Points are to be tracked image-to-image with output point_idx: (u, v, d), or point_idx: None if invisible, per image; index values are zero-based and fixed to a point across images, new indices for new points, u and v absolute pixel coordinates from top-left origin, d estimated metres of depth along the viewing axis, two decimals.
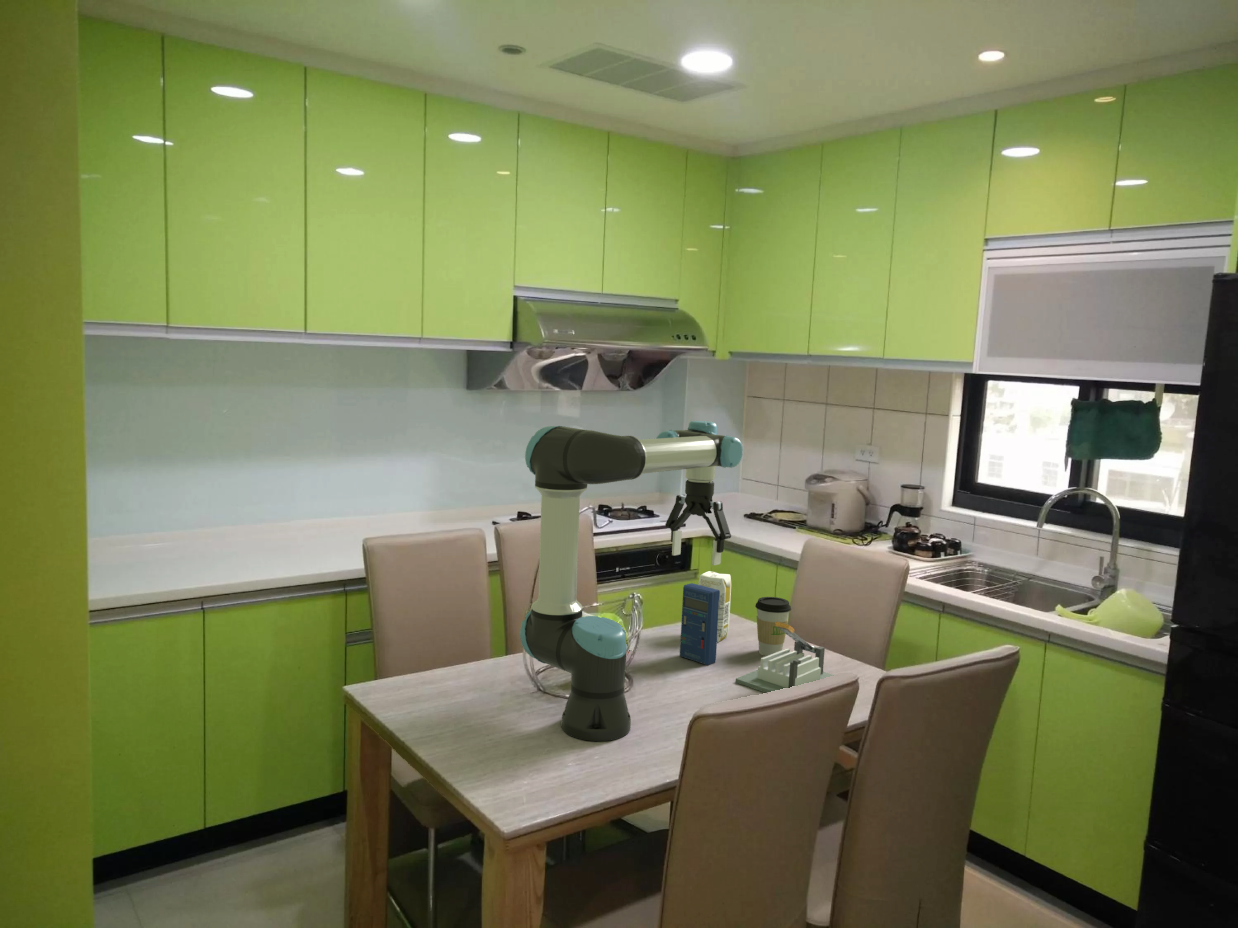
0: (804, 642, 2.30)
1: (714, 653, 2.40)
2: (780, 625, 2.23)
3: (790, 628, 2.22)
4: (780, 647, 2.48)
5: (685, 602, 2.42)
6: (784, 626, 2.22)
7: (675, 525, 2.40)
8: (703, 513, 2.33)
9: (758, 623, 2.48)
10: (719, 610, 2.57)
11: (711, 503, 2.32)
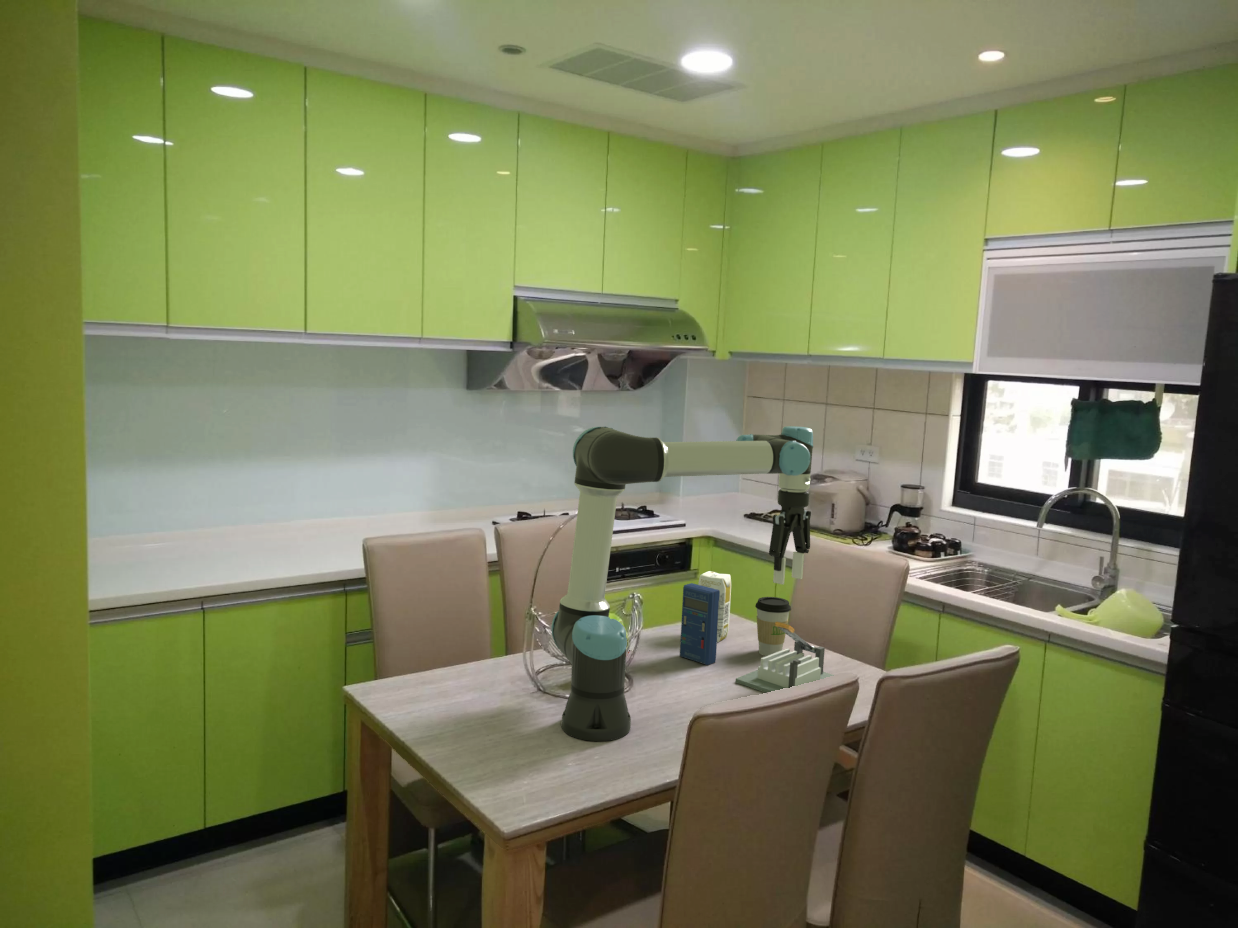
0: (804, 642, 2.30)
1: (714, 653, 2.40)
2: (780, 625, 2.23)
3: (790, 628, 2.22)
4: (780, 647, 2.48)
5: (685, 602, 2.42)
6: (784, 626, 2.22)
7: None
8: None
9: (758, 623, 2.48)
10: (719, 610, 2.57)
11: None
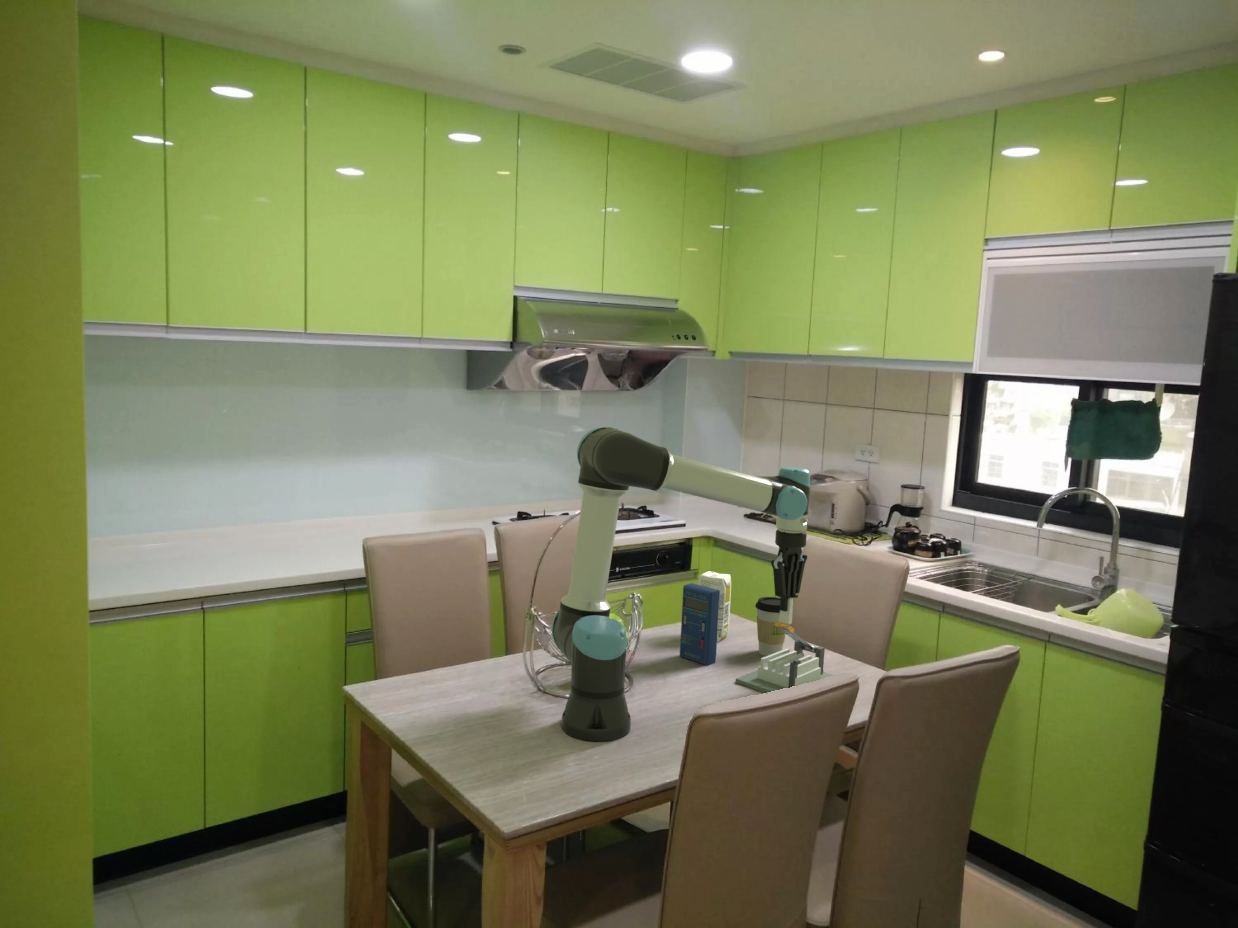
0: (804, 642, 2.30)
1: (714, 653, 2.40)
2: (780, 625, 2.23)
3: (790, 628, 2.22)
4: (780, 647, 2.48)
5: (685, 602, 2.42)
6: (784, 626, 2.22)
7: None
8: None
9: (758, 623, 2.48)
10: (719, 610, 2.57)
11: None
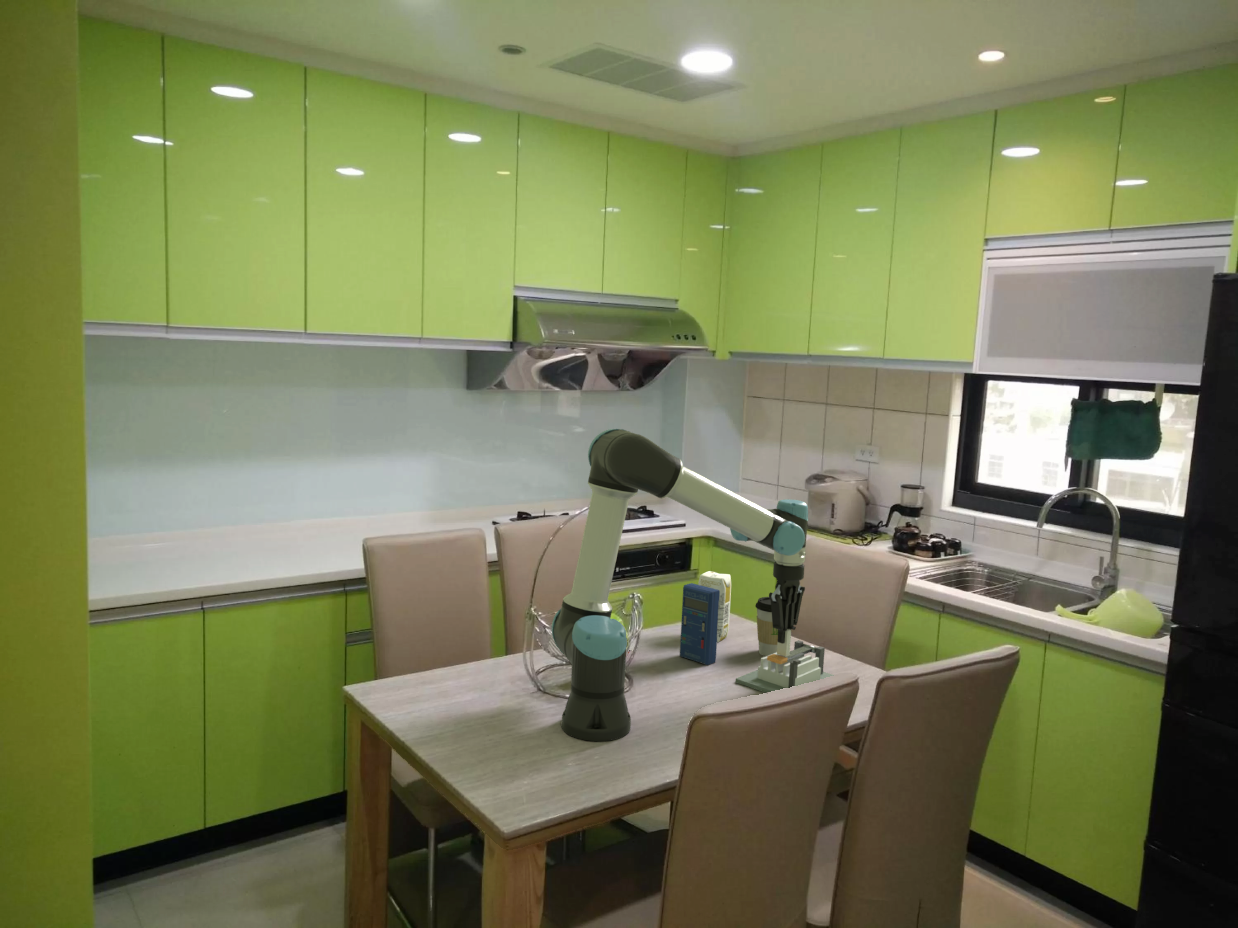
0: (802, 653, 2.29)
1: (714, 653, 2.40)
2: (772, 660, 2.22)
3: (782, 661, 2.21)
4: None
5: (685, 602, 2.42)
6: (776, 661, 2.22)
7: None
8: None
9: (758, 623, 2.48)
10: (719, 610, 2.57)
11: None
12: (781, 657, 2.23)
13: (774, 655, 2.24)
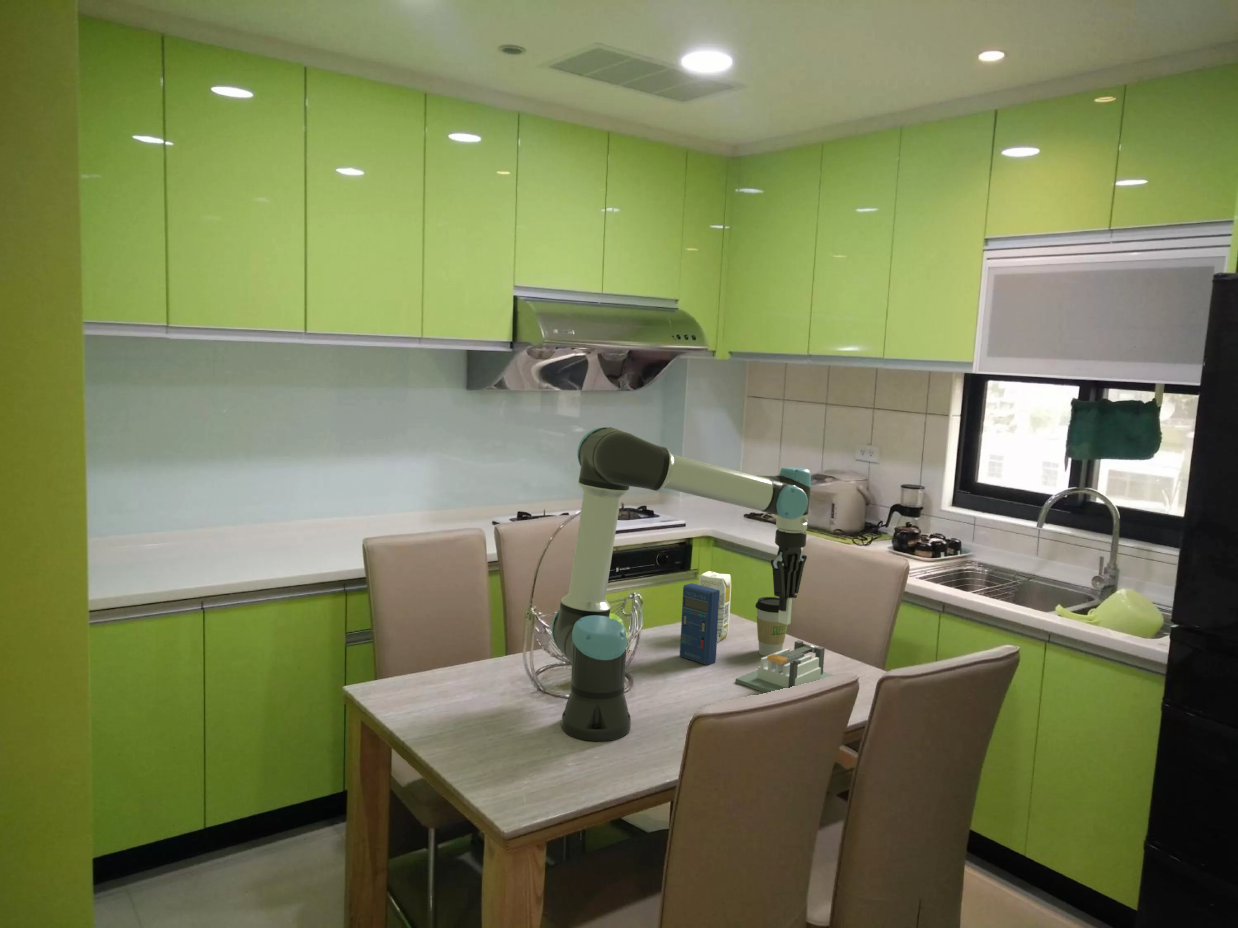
0: (802, 653, 2.29)
1: (714, 653, 2.40)
2: (772, 660, 2.22)
3: (782, 661, 2.21)
4: (780, 647, 2.48)
5: (685, 602, 2.42)
6: (776, 661, 2.22)
7: None
8: None
9: (758, 623, 2.48)
10: (719, 610, 2.57)
11: None
12: (781, 657, 2.23)
13: (774, 655, 2.24)
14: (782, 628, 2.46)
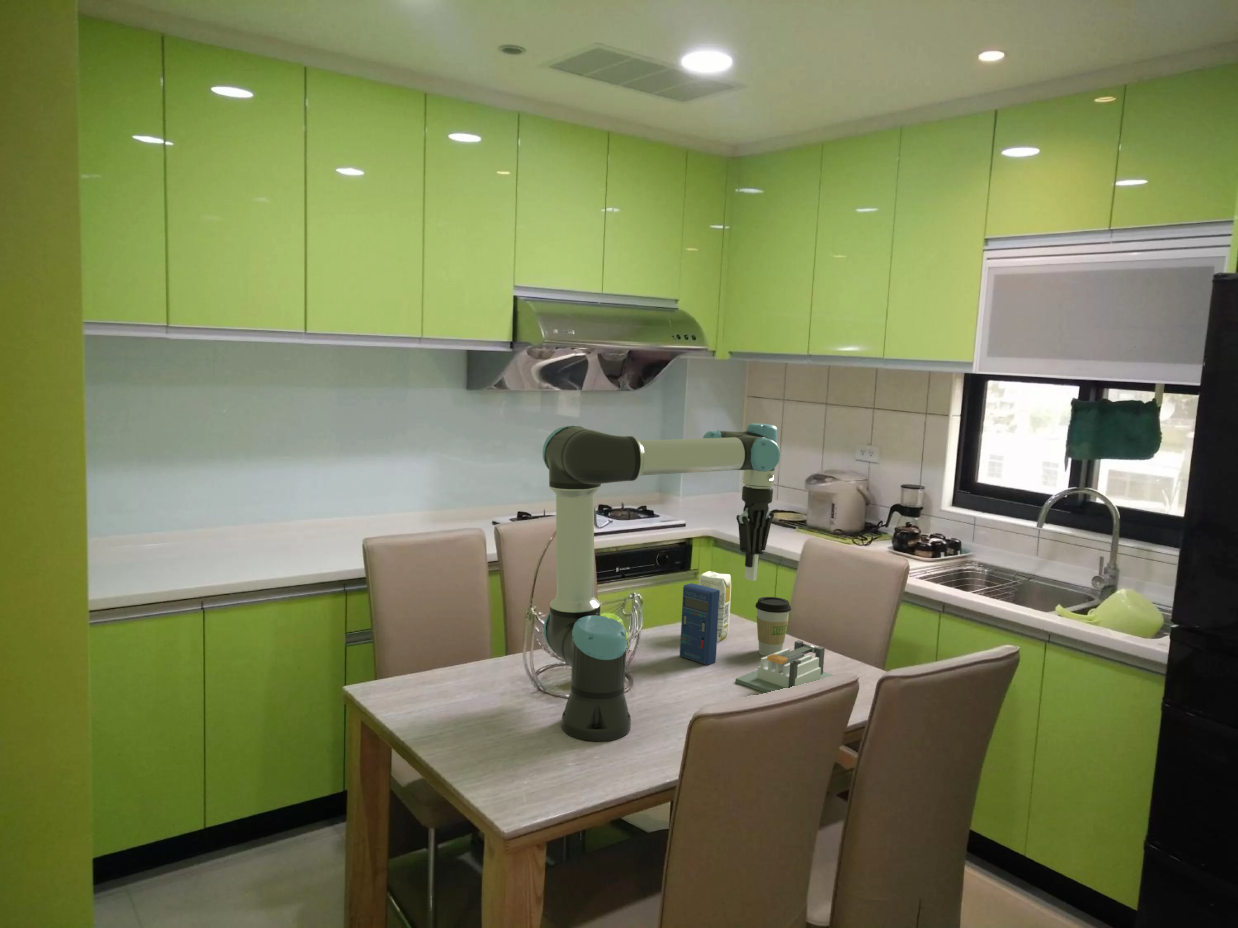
0: (802, 653, 2.29)
1: (714, 653, 2.40)
2: (772, 660, 2.22)
3: (782, 661, 2.21)
4: (780, 647, 2.48)
5: (685, 602, 2.42)
6: (776, 661, 2.22)
7: None
8: None
9: (758, 623, 2.48)
10: (719, 610, 2.57)
11: None
12: (781, 657, 2.23)
13: (774, 655, 2.24)
14: (782, 628, 2.46)
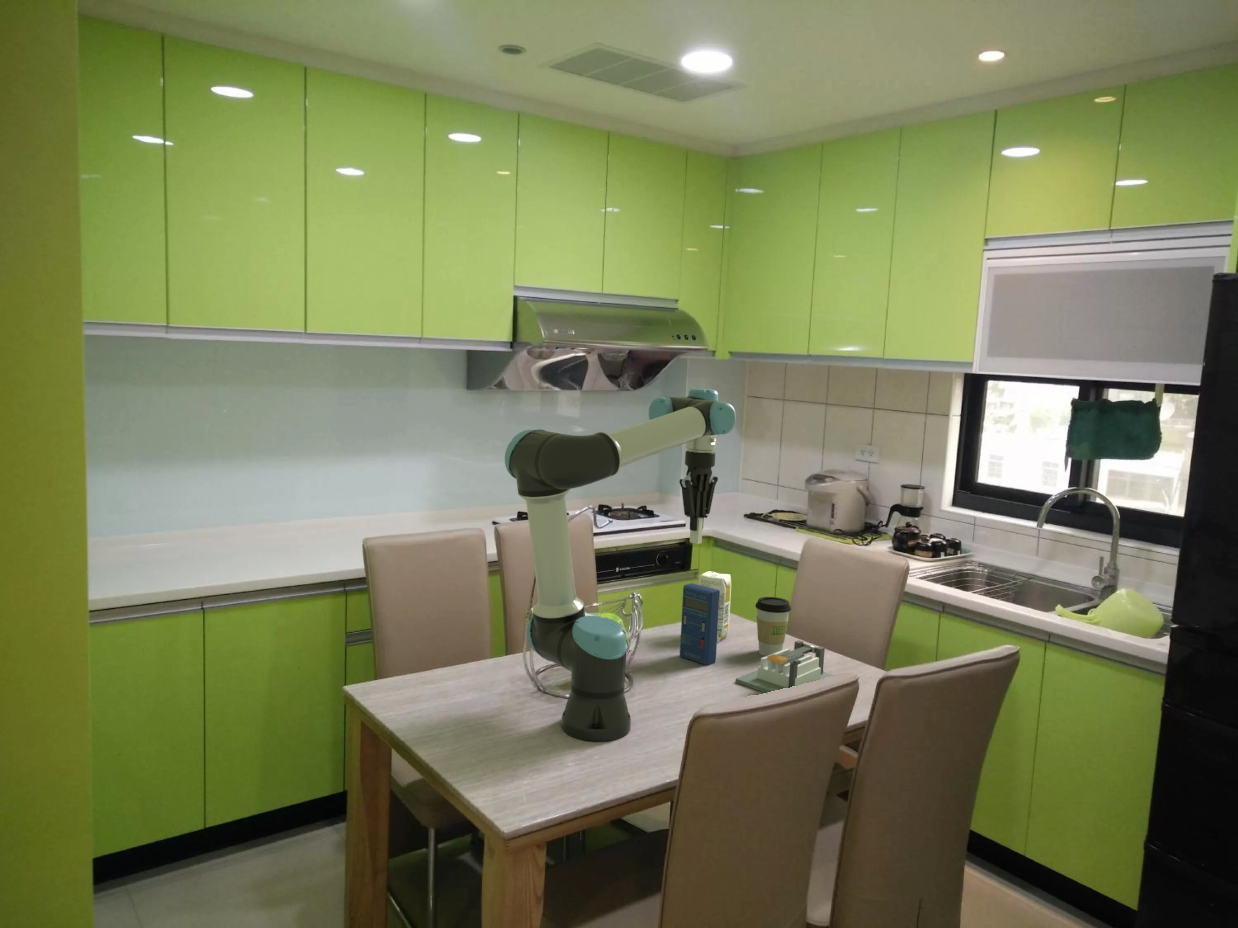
0: (802, 653, 2.29)
1: (714, 653, 2.40)
2: (772, 660, 2.22)
3: (782, 661, 2.21)
4: (780, 647, 2.48)
5: (685, 602, 2.42)
6: (776, 661, 2.22)
7: None
8: None
9: (758, 623, 2.48)
10: (719, 610, 2.57)
11: None
12: (781, 657, 2.23)
13: (774, 655, 2.24)
14: (782, 628, 2.46)
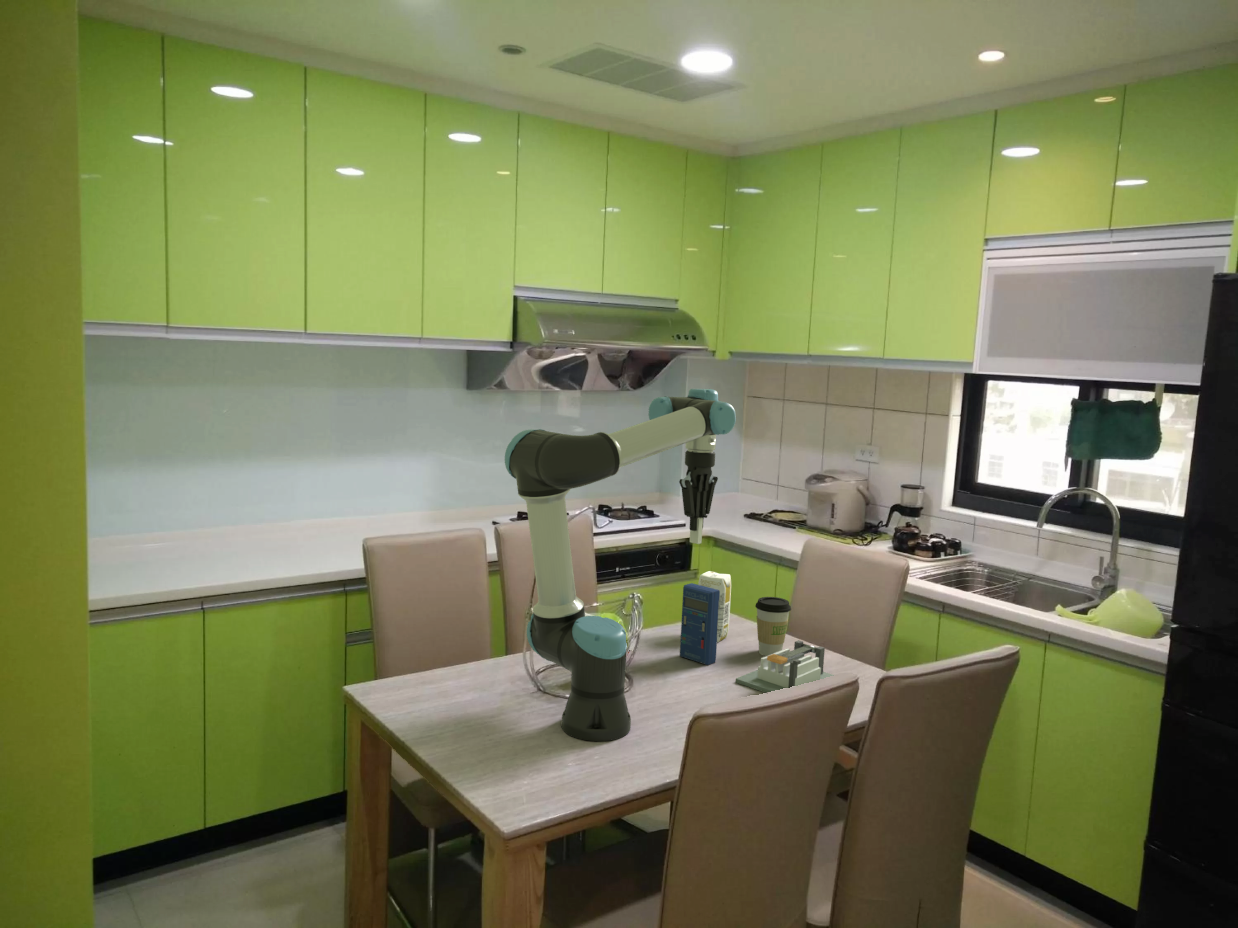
0: (802, 653, 2.29)
1: (714, 653, 2.40)
2: (772, 660, 2.22)
3: (782, 661, 2.21)
4: (780, 647, 2.48)
5: (685, 602, 2.42)
6: (776, 661, 2.22)
7: None
8: None
9: (758, 623, 2.48)
10: (719, 610, 2.57)
11: None
12: (781, 657, 2.23)
13: (774, 655, 2.24)
14: (782, 628, 2.46)
